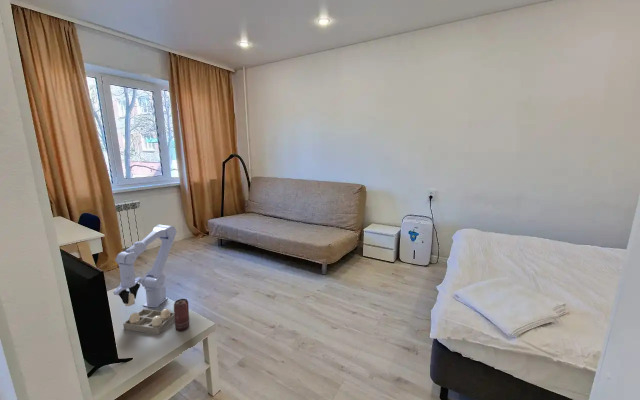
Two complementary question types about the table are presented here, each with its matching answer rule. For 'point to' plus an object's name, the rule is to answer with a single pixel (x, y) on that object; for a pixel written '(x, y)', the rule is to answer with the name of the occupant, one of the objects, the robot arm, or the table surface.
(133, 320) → the egg
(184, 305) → the can
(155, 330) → the carton
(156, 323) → the egg
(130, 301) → the egg
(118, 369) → the table surface
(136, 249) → the robot arm
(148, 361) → the table surface
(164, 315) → the egg
